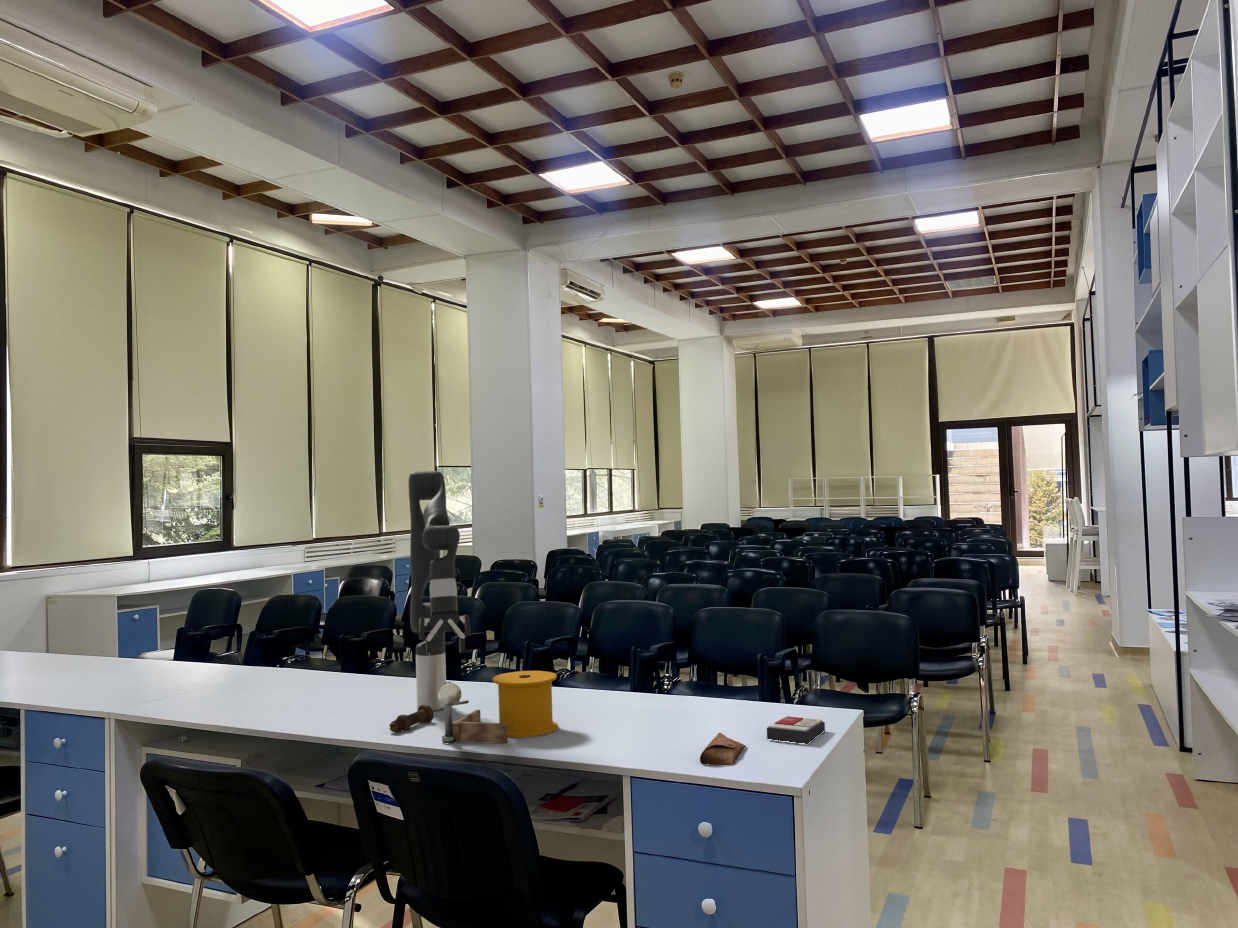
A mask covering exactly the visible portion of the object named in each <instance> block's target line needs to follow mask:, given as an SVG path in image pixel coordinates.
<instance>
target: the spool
mask: <svg viewBox="0 0 1238 928" xmlns="http://www.w3.org/2000/svg"><path fill="white" fill-rule="evenodd" d="M557 676H558V675H557V674H556V673H555V672H552V671H543V670H520V671H512V672H506V673H505V672H504V673H500V674H497V675H495V676H493V678H492V682H493V683H494V684H496V685H497V687H498V691H497V693H498V721H499V722H498V723H507V737H508V738H531V737H530V736H534V737H538V736H537V735H541V736H544V735H543V734H545V735H548V734H547V733H549V734H551V733H550V732H552V733H554V732H556V731H557V730H558V729H559V724H558V723H557V722H556V721H553V694H552V691H553V690H552V682H553V681H555V680H557ZM557 728H558V729H557ZM555 730H556V731H555ZM553 731H554V732H553Z"/></svg>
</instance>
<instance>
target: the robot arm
mask: <svg viewBox="0 0 1238 928" xmlns="http://www.w3.org/2000/svg"><path fill="white" fill-rule="evenodd" d="M407 485H408V499H409V515H410V516H409V517H410V542H409V543H410V546H409V547H410V549H409V551H410V553H409V554H410V556H409V557H410V575H411V576H410V578H411V579H410V580H411V584H410V586H411V588H410V608H409V609H410V611H409V612H410V614H409V617H410V618H409V622H410V628H411V631H412V632H413V633H417V634H418V639H419V640H420V641H421V642H420V643H417V644H416V647H415V675H416V678H415V679H416V680H415V681H416V709H417V710H418V708H419V706H421V705H429V706H430V707H431V708H432V710H433V711H438V710H440V711H441V710H443V709H444V704H442V703H441V702H440V700H439V697H438V693H439V690H440V688H441V687H442V686H443V685H444V682H447V673H446V672H447V669H446V668H447V665H446V663H447V662H446V633H447V632H448V633H449V632H452V631H453V632H454V633H455V635H457V636H458V638H459V639H458V647H459V649H458V650H459V651H458V652H459V653H460V654H461V653H464V651H465V649H466V638H467V637H470V636H471V635H472V629H471V621H470V615H469V614H464V615H459V613H458V611H459V610H458V589H457V588H458V587H457V583H456V568H455V566H456V556H457V551H458V548H459V542H460V537H461V534H460V531H459V529H458V528H457V526H455V525H453V524H452V525H451V524H450V523H451V522H450V518H449V515H448V511H447V510H448V509H447V494H446V493H447V491H446V481H445V477H444V474H443V473H442V472H441V471H438V470H416V471H415V470H413V471H411V472H410V474H409V476H408V484H407ZM421 501H429V502H428V503H427V504H426V506H425V507H424V509H423V510H422V508H421ZM441 551H446V555H444V556H442V557H441ZM428 584H429V601H430V602H422V598H423V595H424V592H425V589H426V587H427V585H428ZM460 621H461V622H462V624H463V625H464V632H462V630H461V629H460V628H459V626H457V625H458V624H459V622H460ZM425 633H428V634H427V636H426V635H425ZM422 641H423V642H422Z"/></svg>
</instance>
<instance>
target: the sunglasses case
mask: <svg viewBox="0 0 1238 928" xmlns="http://www.w3.org/2000/svg"><path fill="white" fill-rule="evenodd" d="M746 746H747V745H746V744H743V743H741V742H739V741H737V740H734V739H732V738H731V737H727V736H726V735H725V734H724V733H722V732H718V733H717V734H716V736H715V737H713V739H712V740H711V741H710V742H709V743H708V745H707V746H706V747H705V748H704V750H703V751H702V752H701V754H700V756H699V762H700V764H701V765H702V764H705V765H704V766H707V765H706V764H709V765H708V766H719V765H730V766H731V767H734V766H735V763H736V761H735V760H737V759H738V757H739V756H740V755H741V753H742V752H743V751H744V750H745V749H746V748H747V747H746ZM745 747H746V748H745ZM744 748H745V749H744ZM743 749H744V750H743ZM742 750H743V751H742ZM739 754H740V755H739ZM733 765H734V766H733ZM730 766H729V767H730Z"/></svg>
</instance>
